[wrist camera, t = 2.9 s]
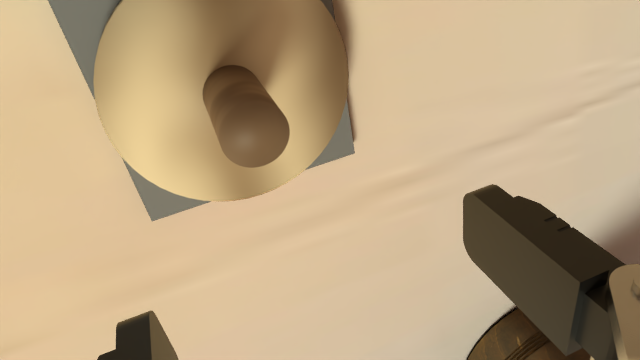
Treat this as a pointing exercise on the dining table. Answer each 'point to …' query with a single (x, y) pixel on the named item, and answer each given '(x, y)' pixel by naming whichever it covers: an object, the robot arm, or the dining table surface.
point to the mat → (83, 38)
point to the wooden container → (520, 342)
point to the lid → (220, 91)
